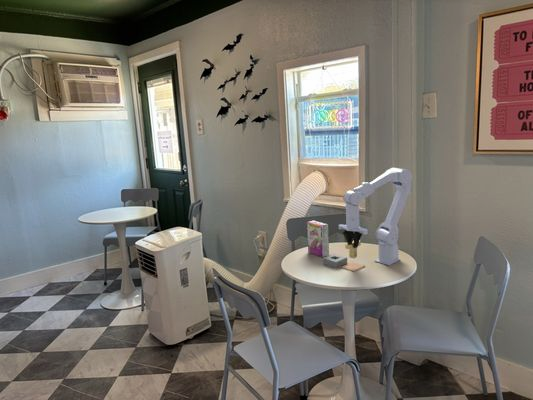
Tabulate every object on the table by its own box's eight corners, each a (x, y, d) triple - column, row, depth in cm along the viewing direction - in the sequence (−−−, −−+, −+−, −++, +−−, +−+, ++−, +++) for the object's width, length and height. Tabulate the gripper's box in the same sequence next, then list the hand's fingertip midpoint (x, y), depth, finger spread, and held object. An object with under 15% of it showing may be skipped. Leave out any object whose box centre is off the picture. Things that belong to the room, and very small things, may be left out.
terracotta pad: (352, 263, 183) (352, 262, 183) (365, 266, 177) (365, 265, 177) (341, 267, 178) (341, 266, 178) (354, 271, 172) (354, 270, 172)
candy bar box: (307, 252, 201) (306, 221, 197) (314, 250, 203) (313, 220, 200) (322, 258, 192) (321, 226, 188) (329, 255, 194) (328, 224, 191)
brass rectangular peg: (356, 254, 180) (356, 239, 179) (360, 255, 178) (360, 240, 177) (345, 258, 175) (345, 244, 174) (349, 260, 173) (349, 245, 172)
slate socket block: (334, 259, 189) (333, 253, 188) (347, 263, 183) (347, 257, 182) (323, 264, 184) (322, 258, 183) (336, 268, 178) (336, 262, 177)
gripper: (334, 217, 176) (334, 245, 178) (360, 222, 165) (361, 252, 168) (343, 214, 180) (344, 242, 183) (370, 218, 169) (370, 248, 172)
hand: (353, 246), depth 176 cm, fingers closed on brass rectangular peg, 2 cm apart
